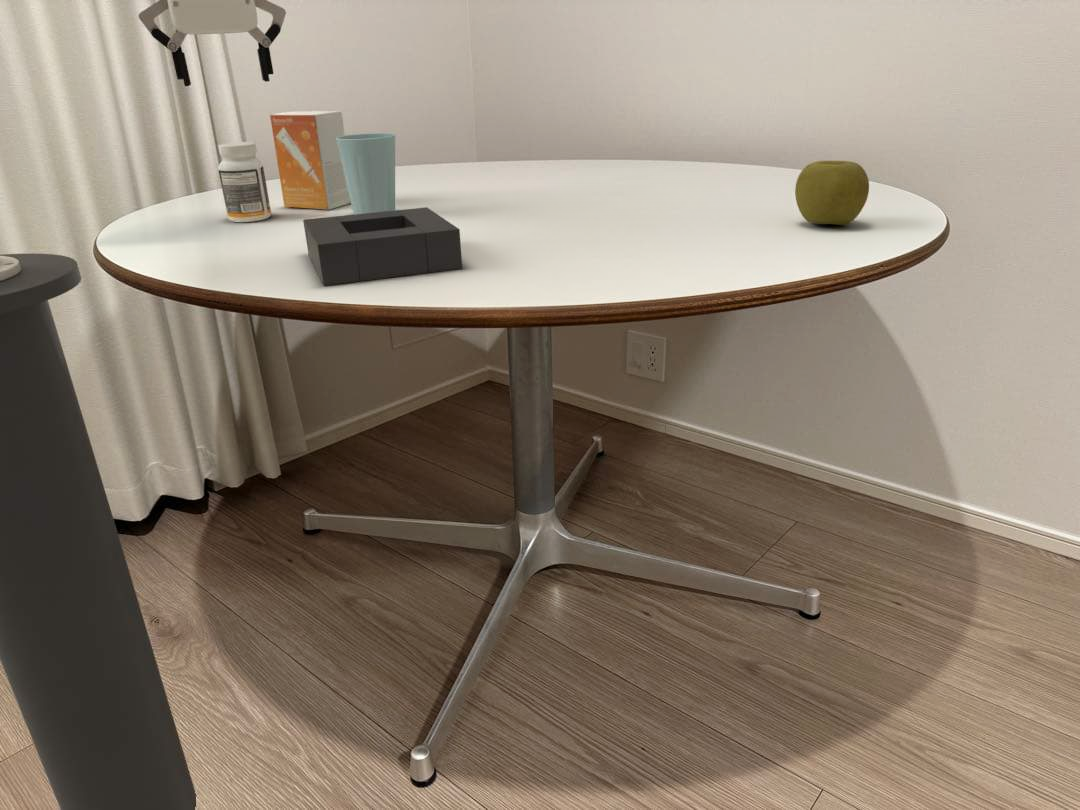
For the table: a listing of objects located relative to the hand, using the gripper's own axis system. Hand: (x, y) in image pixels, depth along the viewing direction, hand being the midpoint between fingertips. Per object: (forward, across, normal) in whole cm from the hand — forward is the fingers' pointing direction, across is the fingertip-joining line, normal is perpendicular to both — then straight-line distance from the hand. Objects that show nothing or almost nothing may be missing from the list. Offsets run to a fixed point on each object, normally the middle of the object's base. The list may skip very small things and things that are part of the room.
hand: (227, 83), depth 102 cm
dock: (+17, -12, +34) cm, 40 cm away
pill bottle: (+18, 0, 0) cm, 18 cm away
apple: (+18, -62, +42) cm, 78 cm away
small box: (+18, -10, -6) cm, 21 cm away
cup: (+18, -16, +8) cm, 25 cm away
